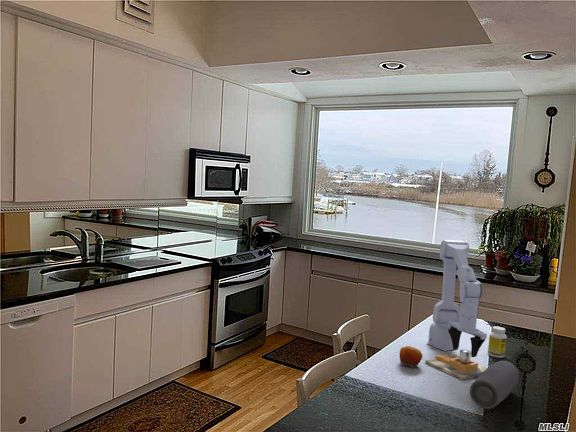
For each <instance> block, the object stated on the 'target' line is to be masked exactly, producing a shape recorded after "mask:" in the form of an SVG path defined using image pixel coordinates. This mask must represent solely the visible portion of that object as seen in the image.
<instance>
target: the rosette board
mask: <svg viewBox="0 0 576 432" xmlns="http://www.w3.org/2000/svg"><path fill="white" fill-rule="evenodd" d="M446 356H448V357H451V358H453V359H454V358H458V357H460V355H457V354H455V353H454V354H447V355H446ZM424 363H425V364H427V365H428V366H430V367H432V368H436V369H437V370H440V371H442V372H443V373H446V374H448V375H450V376H452V377H454V378H457V379H459V380H461V381H464V380H469V379H471V378H475V377H478V376H479V375H480V374H481V373H482V372H484V371H485V370H486V369H487V368H488V367H487V366H486V367H485V366H484V365H481V364H479V363H478V369H477V370H475V371H471V372H468V373H464V372H461V371H459V370H457V369H455V368H453V367H450V366H449V364H448V363H445V362H442V361H440V360H438V359H436V357H435V358H430V359H426V360H425V362H424Z"/></svg>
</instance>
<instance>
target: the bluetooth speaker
mask: <svg viewBox="0 0 576 432" xmlns="http://www.w3.org/2000/svg"><path fill="white" fill-rule="evenodd" d="M486 368H487V369H486V370H485V371H484V372H482V373H481V374H480V375H479V376H476V378H475V379H474V381H473V383H471V386H470V388H469V394H470V398H471V400H472V401H473V403H475V404H476V406H478V407H480V408H483V409H487V410H490V409H491V410H492V409H494V408H495V407H497V406H498V405H500V404H501V403H502V402H503V401H504V400H505V399H506V398H507V397H508V396H510V395H511V393H512V391H513V390H514V389H515V387H516V385H517V384H518V382H519V378H520V373H519V370H518V368H517V367H516V366H515V364H513V363H512V362H511V361H509V360H499V361H496V362H495V363H493V364H491V365H490V366H488V367H486Z"/></svg>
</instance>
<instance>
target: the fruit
mask: <svg viewBox="0 0 576 432" xmlns="http://www.w3.org/2000/svg"><path fill="white" fill-rule="evenodd" d="M423 357H424V355H423V354H422V351H421V350H420V349H418V348H416V347H414V346H411V345H406V346H402V347H400V350H399V362H400V364H401V365H402V366H407V367H408V366H409V367H410V368H411V369H412V370H413V368H414V367H417V366H419V364H420V363H421V361H422V360H423Z"/></svg>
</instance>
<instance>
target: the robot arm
mask: <svg viewBox="0 0 576 432" xmlns="http://www.w3.org/2000/svg"><path fill="white" fill-rule="evenodd" d="M439 246H440V247H439V260H441V261H443V272H442V274H443V275H442V288H441V289H442V291H441V300H440V301H438V302H436V303H435V304H434V305H433V311H432V321H433V322H432V323H431V324H430V326H429V330H428V339H427V340H428V341H427V342H426V344H427V345H430V346H432V347H433V348H436V349H439V350H441V351H444V352H447V351H451V350H452V351H453V350H458V349H459V347H460V342H461V341H460V339H461V335H462V333H466V334H468V335H471V336H472V337H471V336H470V344H471V351H470V352H471V356H470V358H476V357H477V356H478V352H479V351H480V349H481V347H482V345H483V344H484V342H485V341H486V339H487V337H488V334H487V333H486V332H484V331H482V330H480V329H478V328H477V320H478V319H477V318H478V311H479V310H478V309H479V303H480V302H479V301H480V299H482V296H483V293H484V292H483V285H482V282H480V281H479V280H478V279H477V278H476V275H475V272H474V269H473V268H472V267H471V266H470V265H469V262H468V255H469V253H470V245H469V242H468V241H467V240H452V239H451V240H450V239H443V240H441V241H440V245H439ZM457 268H458V269H457ZM456 276H457V277H458V282H459V301H460V307H459V305H458V304H456V303H455V291H456Z"/></svg>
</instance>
